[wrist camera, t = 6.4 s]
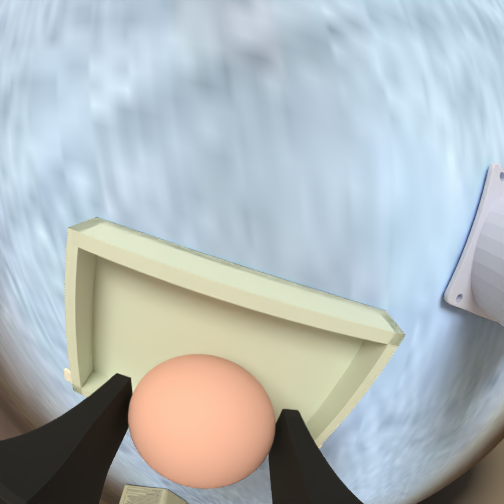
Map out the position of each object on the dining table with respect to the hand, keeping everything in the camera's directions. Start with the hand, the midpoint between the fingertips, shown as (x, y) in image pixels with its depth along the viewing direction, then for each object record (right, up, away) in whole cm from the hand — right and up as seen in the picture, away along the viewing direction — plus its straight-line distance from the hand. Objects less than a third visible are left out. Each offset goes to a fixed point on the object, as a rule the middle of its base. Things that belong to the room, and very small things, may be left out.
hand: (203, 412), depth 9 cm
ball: (0, 0, -1) cm, 1 cm away
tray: (0, +1, +3) cm, 4 cm away
